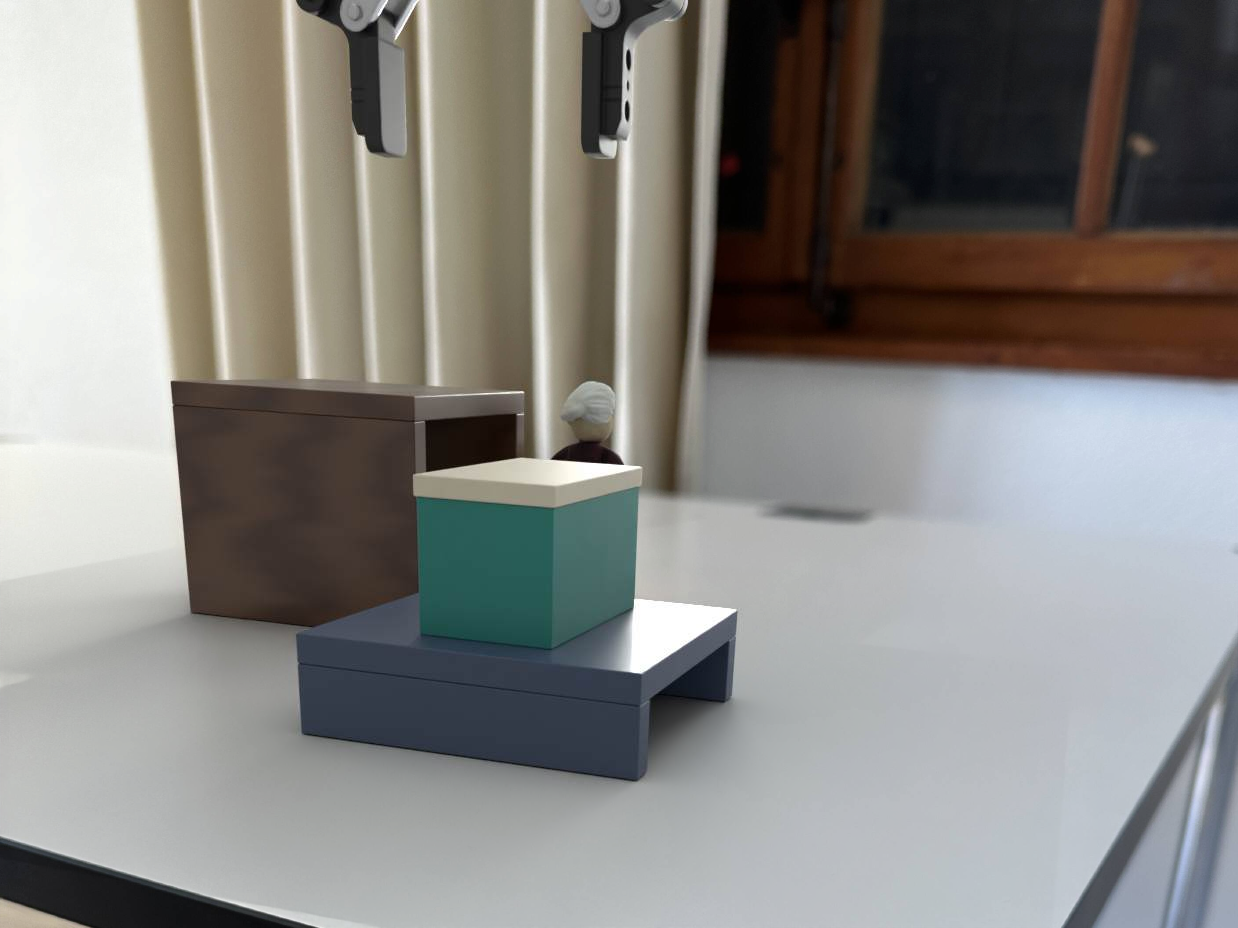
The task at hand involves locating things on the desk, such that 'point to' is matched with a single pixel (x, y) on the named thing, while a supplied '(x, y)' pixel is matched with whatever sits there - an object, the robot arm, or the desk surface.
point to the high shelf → (319, 487)
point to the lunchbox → (525, 549)
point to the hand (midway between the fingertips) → (490, 155)
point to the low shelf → (512, 685)
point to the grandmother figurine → (589, 424)
